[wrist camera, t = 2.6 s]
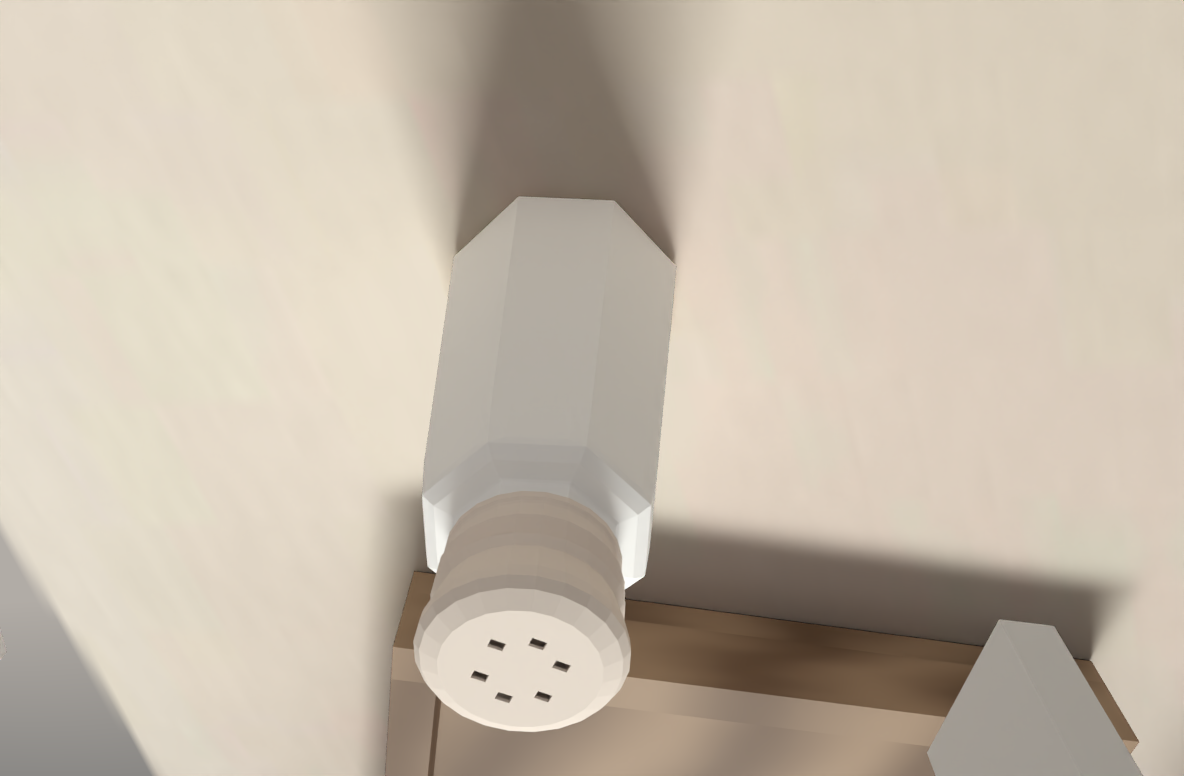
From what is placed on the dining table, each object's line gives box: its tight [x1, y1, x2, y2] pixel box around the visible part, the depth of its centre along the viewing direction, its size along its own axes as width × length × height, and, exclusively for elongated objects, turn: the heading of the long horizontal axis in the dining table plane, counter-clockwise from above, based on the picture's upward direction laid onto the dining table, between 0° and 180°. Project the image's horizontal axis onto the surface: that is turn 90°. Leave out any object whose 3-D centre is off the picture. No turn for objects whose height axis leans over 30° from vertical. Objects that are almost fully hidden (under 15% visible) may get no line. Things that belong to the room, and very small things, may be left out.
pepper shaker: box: [413, 196, 676, 732], centre depth 16 cm, size 5×5×11 cm
